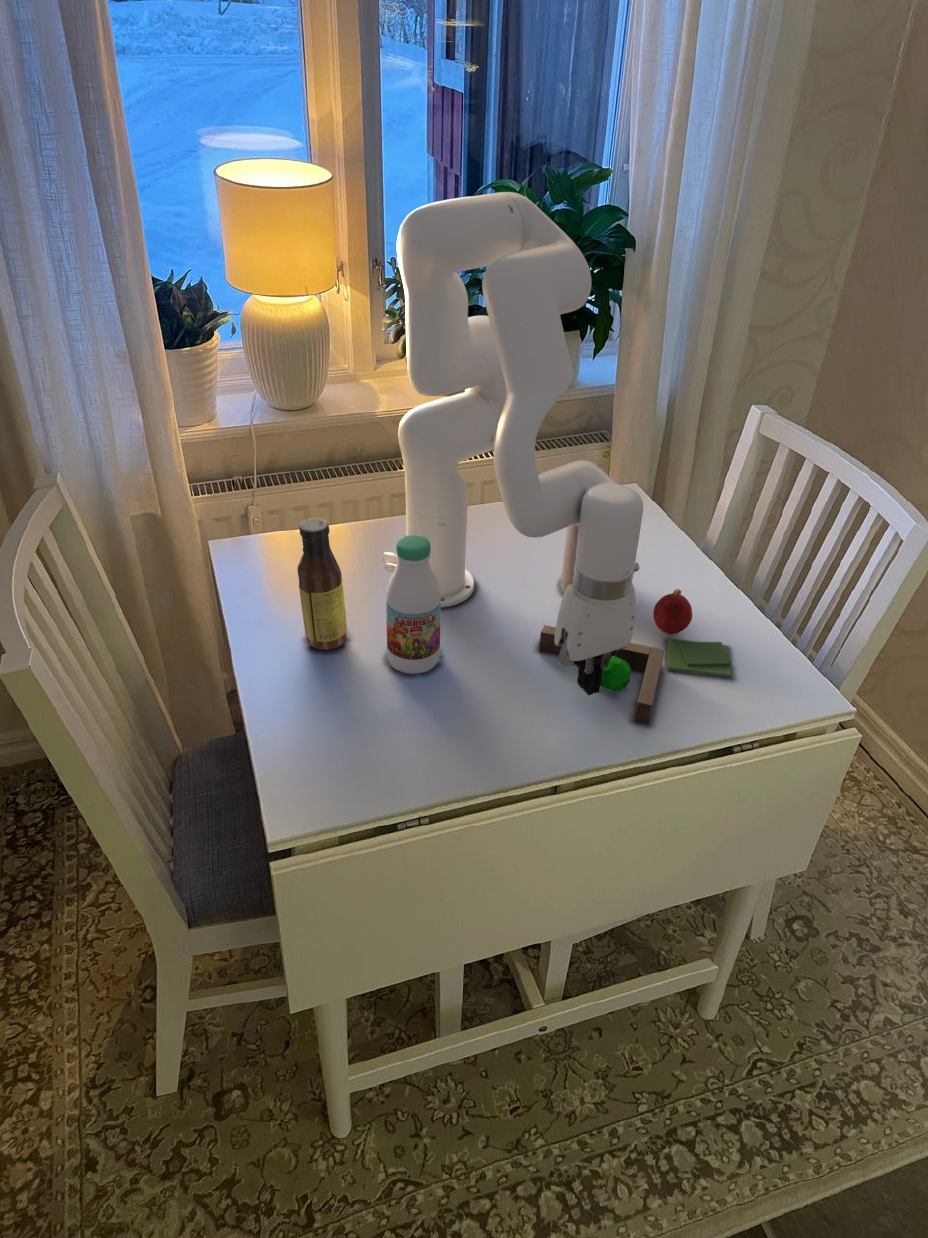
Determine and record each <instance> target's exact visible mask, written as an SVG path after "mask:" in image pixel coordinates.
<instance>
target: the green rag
mask: <svg viewBox="0 0 928 1238" xmlns="http://www.w3.org/2000/svg"><path fill="white" fill-rule="evenodd" d="M666 644H667V671H670V672H678V673H679V672H680V673H687V674H694V675H703V676H711V677H718V678H726V679H731V678H732V668H731V665H732V663H731V660H730V650H729V645H726V644H723V642H721V641H694V640H686V639H677V638H667V643H666Z"/></svg>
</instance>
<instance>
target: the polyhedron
mask: <svg viewBox="0 0 928 1238" xmlns="http://www.w3.org/2000/svg"><path fill="white" fill-rule="evenodd" d="M631 672H632V670H631V669H630V666H629V665H628V663H627V662H626V661H625V660H622V659H620V658H617V657H615V656H612V657H611V658H610V660H609V663H608V666H607V668H605V669H603V673H602V680H601V685H600V688H603V689H605V690H608V691H610V692H613V693H614V692H618V691H619V692H620V691H621V690H624V689H625V688H626V687H628V685H629V684H630V682H631V675H632V674H631Z"/></svg>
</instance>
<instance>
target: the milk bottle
mask: <svg viewBox="0 0 928 1238" xmlns="http://www.w3.org/2000/svg"><path fill="white" fill-rule="evenodd" d="M395 545H396V546H395V550H396V554H397V555H396V556H397V559H398V564H397V567H396V569H395V571H394V572H392V575H391V577H390V579H389V582H388V584H387V588H386V595H385V596H386V601H385V604H386V605H385V608H386V609H385V615H386V616H385V623H386V627H385V628H386V629H385V631H386V657H387V662H388V663H389V664H390V665H391V667H392V668H393V669H394V670H396V671H398V672H401V673H404V674H411V675H413V674H422V673H427V672H429V671H431V670H432V669H433V668H435V666H436V665H437V664H438V662H439V660H440V655H441V654H440V653H441V618H442V617H441V612H442V611H441V608H442V607H441V601H440V589H439V585H438V582H437V579H436V577H435V575H434V574H433V572H432V570H431V567H430V564H429V558H430V550H431V547H430V542H429V540H428V539H427V538H425V537H423V536H420V535H406V534H405V535H403V536H401V537H400V538H399V539H398V540H397V541H396V544H395Z"/></svg>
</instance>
